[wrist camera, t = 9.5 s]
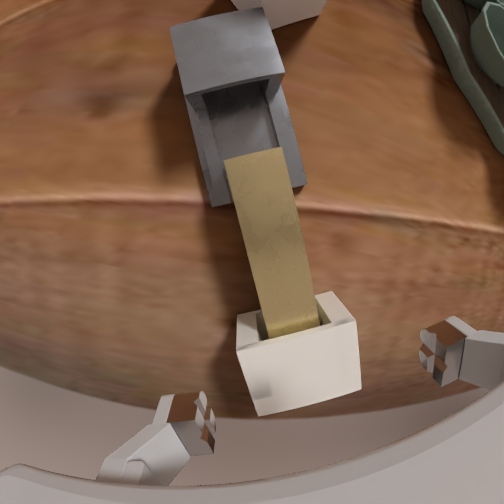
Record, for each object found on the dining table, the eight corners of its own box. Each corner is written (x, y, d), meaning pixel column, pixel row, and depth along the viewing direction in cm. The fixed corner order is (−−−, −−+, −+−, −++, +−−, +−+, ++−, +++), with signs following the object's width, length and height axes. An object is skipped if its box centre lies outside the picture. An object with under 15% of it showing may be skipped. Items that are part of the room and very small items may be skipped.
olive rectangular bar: (271, 341, 26) (275, 366, 22) (226, 165, 23) (222, 160, 19) (314, 330, 26) (325, 353, 22) (275, 153, 23) (282, 146, 19)
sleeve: (213, 206, 25) (203, 212, 19) (177, 60, 22) (161, 30, 16) (304, 184, 25) (324, 183, 19) (264, 40, 22) (270, 5, 15)
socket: (255, 373, 28) (258, 416, 22) (237, 314, 27) (236, 351, 21) (340, 351, 28) (361, 389, 22) (331, 290, 27) (355, 320, 20)
